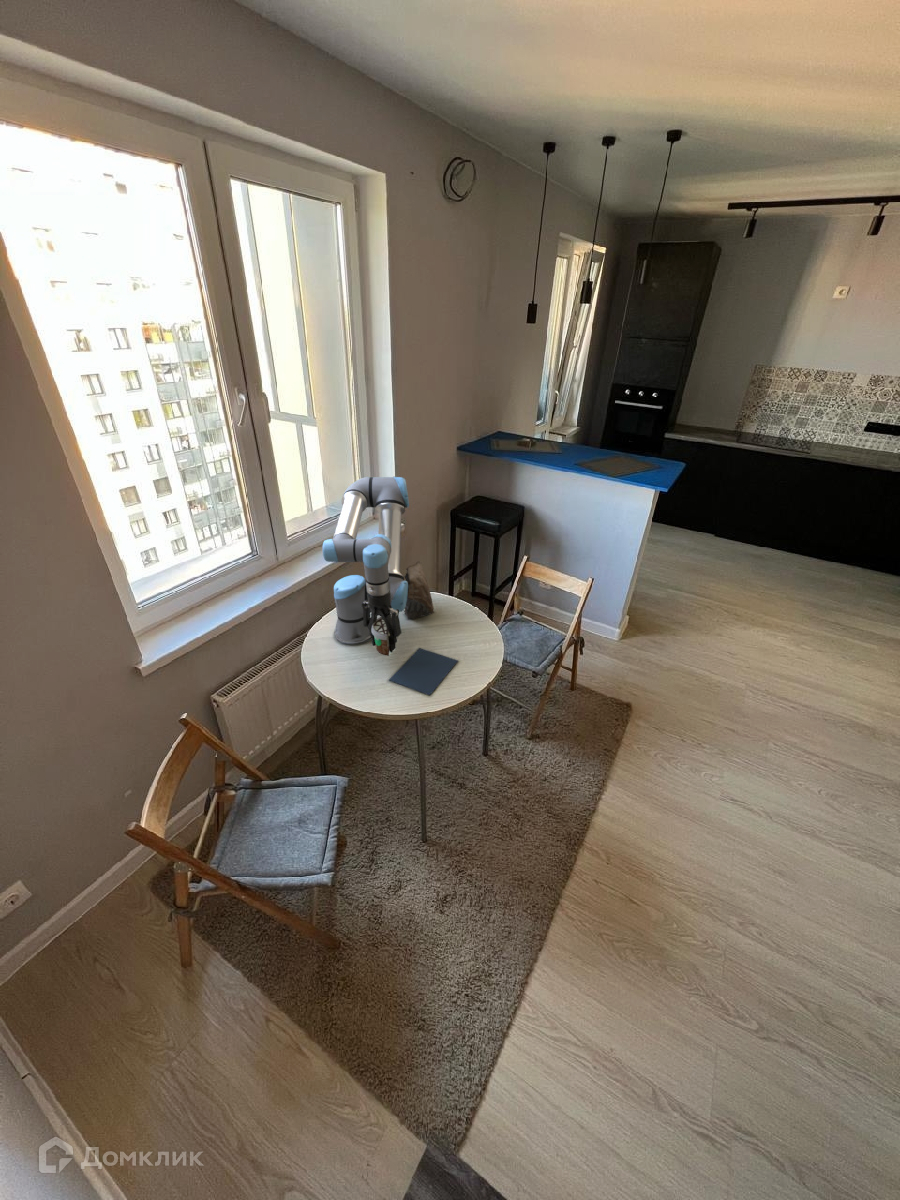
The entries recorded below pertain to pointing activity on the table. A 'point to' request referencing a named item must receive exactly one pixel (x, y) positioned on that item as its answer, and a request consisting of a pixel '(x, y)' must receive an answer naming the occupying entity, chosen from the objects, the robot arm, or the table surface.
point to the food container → (381, 636)
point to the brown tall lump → (417, 593)
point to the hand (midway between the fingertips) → (384, 646)
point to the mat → (424, 671)
